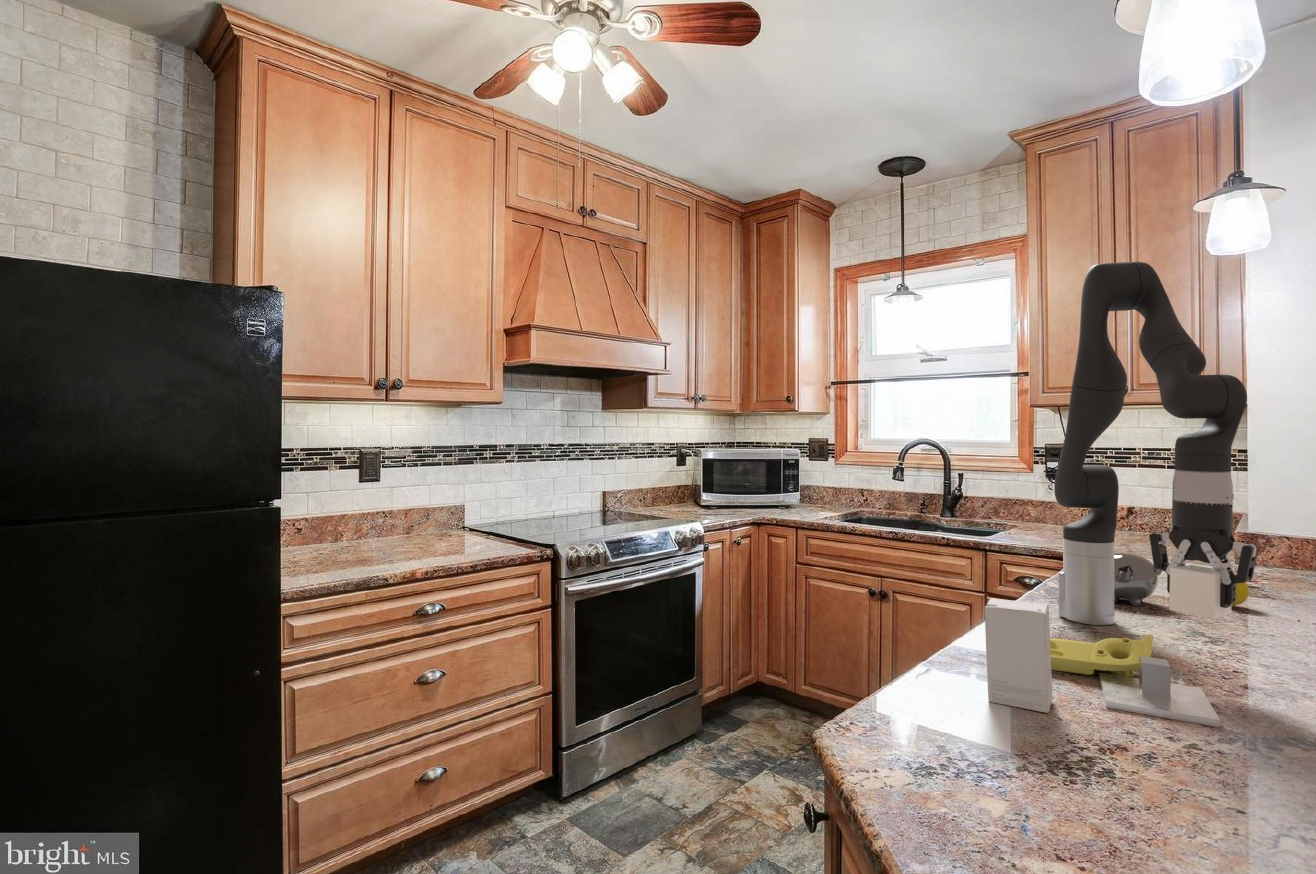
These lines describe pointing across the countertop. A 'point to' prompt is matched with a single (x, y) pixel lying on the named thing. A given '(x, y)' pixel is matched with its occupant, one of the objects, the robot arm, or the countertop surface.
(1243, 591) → the lemon
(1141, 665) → the duct stub
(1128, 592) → the piggy bank
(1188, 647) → the countertop surface
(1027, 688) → the skincare box
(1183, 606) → the square tube sleeve
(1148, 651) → the plastic component
